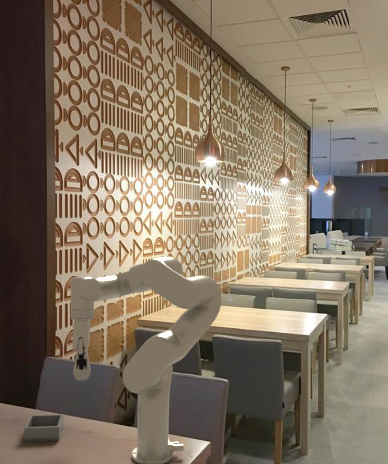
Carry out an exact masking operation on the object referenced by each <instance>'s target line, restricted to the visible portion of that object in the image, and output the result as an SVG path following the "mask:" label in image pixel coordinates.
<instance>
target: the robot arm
mask: <svg viewBox="0 0 388 464" xmlns="http://www.w3.org/2000/svg"><path fill="white" fill-rule="evenodd" d="M183 273H184V268H183V265H182V263H181V262H180V261H179V259H177V258H175V257H172V256H163V257H153V258H150V259H148V260H147V261H146V262H144V263H140V264H135V265H133V266H131V267H130V268H129V270H127V271H125V272H124V271H123V272H121V273H117V274H112V275H105V276H99V277H92V276H89V275H79V276H73V277H72V278H71V279H70V320H71V321H73V323H72V324H73V325H72V347H71V349H72V351H73V352H74V351H75V350H76V351H77V368H78V365H79V369H80V370H83V369H84V366H85V367H86V370H87V359H86V350H87V351H88V349H89V346H90V340H91V320H93V319H95V302H101V301H106V300H111V299H116V298H120V297H123V296H128V295H131V294H139V293H140V294H141V293H143V292H149V291H153V292H154V293H156V294H157V295H158V296H160V297H162V298H163V299H164V300H166V301H168V302H169V303H170V304H172V305H173V306H175V307H177V308H179V309H184V310H185V311H184V312H183V313H182V314H181V315H180V316H179V317H178V318H177V320H176V321H175V322H174V323H173V324H172V326H171V327H169V328H168V329H166V330H164V331H161V332H159V333H157V334H155V335H153V336H151V337H149V338H148V339H147V340H146V341H144V343H143V344H142V345H141V346H140V348H139V349H138V350H137V351H136V352H135V353H134V355H133V356H132V357H131V358H130V360H128V362H127V363H126V364H125V366H124V369H123V372H122V382H123V385H124V387H125V389H127V390H128V391H129V392H131V393H135V394H138V395H137V422H136V423H137V424H136V425H137V426H136V427H137V428H136V429H137V430H136V432H137V434H136V435H137V436H136V438H137V439H136V447H134V448H133V450H132V451H131V458H132V460H133V461H135V463H138V464H166V463H168V462H170V461H171V460H173V458H174V452H183V451H184V450H185V449H184V444H183V443H180V442H179V441H171V440H170V438H169V426H170V425H169V424H170V421H169V419H170V416H169V415H170V393H171V392H170V391H171V384H172V379H173V377H172V376H173V370H174V369H173V365H174V364H176V363H177V362H179V361H181V360H183V359H184V358H185V357H186V356H187V354H188V353H189V352H190V350H192V348H193V347H194V346H195V345H196V344H197V343H198V341H200V339H201V337H202V336H204V334H205V333H206V332H207V331H208V330H209V328H210V327H211V326H212V325H213V323H214V322H215V320H216V319H217V317H218V315H219V313H220V311H221V308H222V293H221V289H220V286H219V284H218V283H217V281H216V280H215V279H213V278H212V277H210V276H207V275H195V276H190V277H185V276H183ZM84 346H85V347H84ZM83 348H85V349H83ZM77 368H76V370H77ZM179 443H180V444H179Z"/></svg>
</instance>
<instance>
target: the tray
mask: <svg viewBox="0 0 388 464" xmlns="http://www.w3.org/2000/svg"><path fill="white" fill-rule="evenodd" d="M64 414H65V413H64ZM64 414H63V413H59V414H56V413H55V414H31V415H30V416H29V417H28V420H27V422H26V424H25V426H24V428H23V431H24V432H23V443H31V442H32V443H33V442H34V443H35V442H60V440H61V437H62V432H63V429H64V419H65V418H64Z"/></svg>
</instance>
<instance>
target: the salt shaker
mask: <svg viewBox="0 0 388 464" xmlns="http://www.w3.org/2000/svg"><path fill="white" fill-rule="evenodd" d="M84 347H85V346H84ZM83 349H85V348H83ZM88 353H89V352H88V349H87V350H86V359H87V370H86V367H85V366H84V369H83V370H80V369H79V365H78V368H77V350H76V352H75V358H74V362H73V363H74V364H73V370H72V374H73V376H74V379H75V380H76V381H81V382H82V381H87V380H88V379H89V377H90V376H91V372H92V371H91V370H92V369H91V363H90V358H89V354H88ZM76 368H77V370H76Z"/></svg>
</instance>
